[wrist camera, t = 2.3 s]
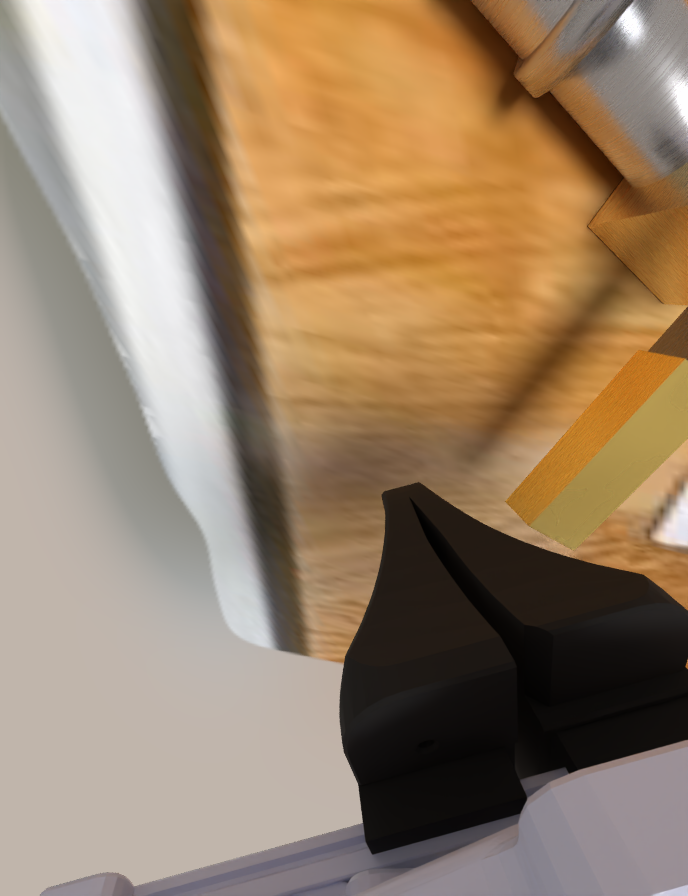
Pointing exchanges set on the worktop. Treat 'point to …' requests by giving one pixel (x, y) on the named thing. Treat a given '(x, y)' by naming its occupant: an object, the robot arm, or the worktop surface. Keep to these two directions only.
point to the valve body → (619, 113)
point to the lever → (611, 444)
